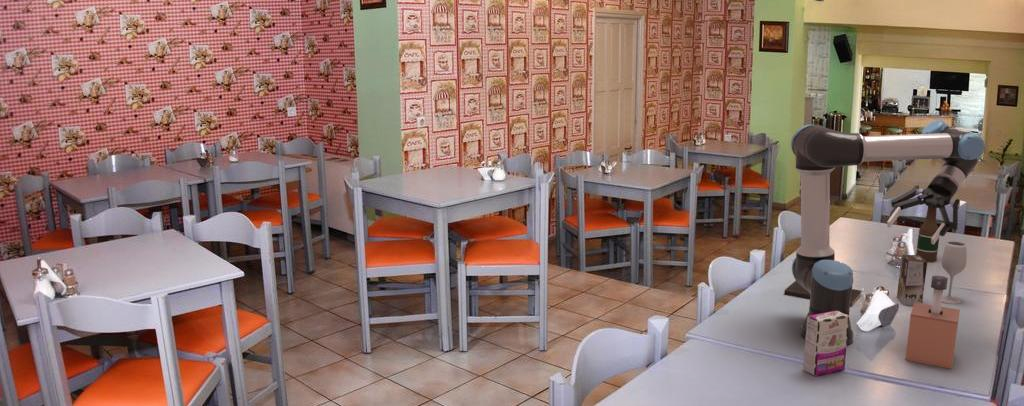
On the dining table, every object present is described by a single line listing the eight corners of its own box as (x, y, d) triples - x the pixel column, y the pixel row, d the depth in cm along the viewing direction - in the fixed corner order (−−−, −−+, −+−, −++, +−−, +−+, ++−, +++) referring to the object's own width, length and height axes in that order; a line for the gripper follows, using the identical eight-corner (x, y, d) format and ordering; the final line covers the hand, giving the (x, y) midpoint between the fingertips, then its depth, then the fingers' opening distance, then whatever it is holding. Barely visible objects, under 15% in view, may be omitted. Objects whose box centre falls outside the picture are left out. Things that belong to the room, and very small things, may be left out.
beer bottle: (937, 259, 337) (944, 203, 332) (935, 263, 331) (942, 206, 326) (916, 256, 341) (923, 201, 336) (914, 260, 335) (921, 204, 330)
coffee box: (922, 306, 279) (928, 262, 276) (902, 305, 281) (908, 260, 277) (915, 298, 288) (920, 254, 285) (896, 296, 289) (901, 253, 286)
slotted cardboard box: (909, 346, 244) (914, 302, 241) (953, 354, 238) (959, 309, 235) (905, 359, 234) (910, 314, 231) (951, 368, 228) (958, 322, 225)
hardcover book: (796, 285, 304) (796, 279, 303) (861, 296, 291) (861, 290, 291) (783, 296, 291) (784, 290, 290) (851, 308, 278) (851, 302, 278)
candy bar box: (831, 363, 231) (836, 309, 228) (844, 370, 227) (850, 315, 223) (801, 370, 227) (806, 314, 223) (814, 377, 222) (819, 320, 219)
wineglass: (963, 300, 286) (971, 243, 282) (957, 305, 281) (965, 247, 276) (940, 295, 291) (947, 239, 287) (934, 300, 286) (941, 243, 281)
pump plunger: (923, 344, 238) (932, 274, 234) (939, 346, 236) (948, 277, 232) (921, 352, 232) (930, 281, 227) (937, 355, 230) (946, 283, 225)
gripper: (987, 205, 244) (952, 256, 239) (907, 177, 261) (872, 225, 255) (988, 189, 239) (951, 241, 233) (906, 163, 256) (870, 210, 250)
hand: (909, 233), depth 244 cm, fingers open, 13 cm apart
